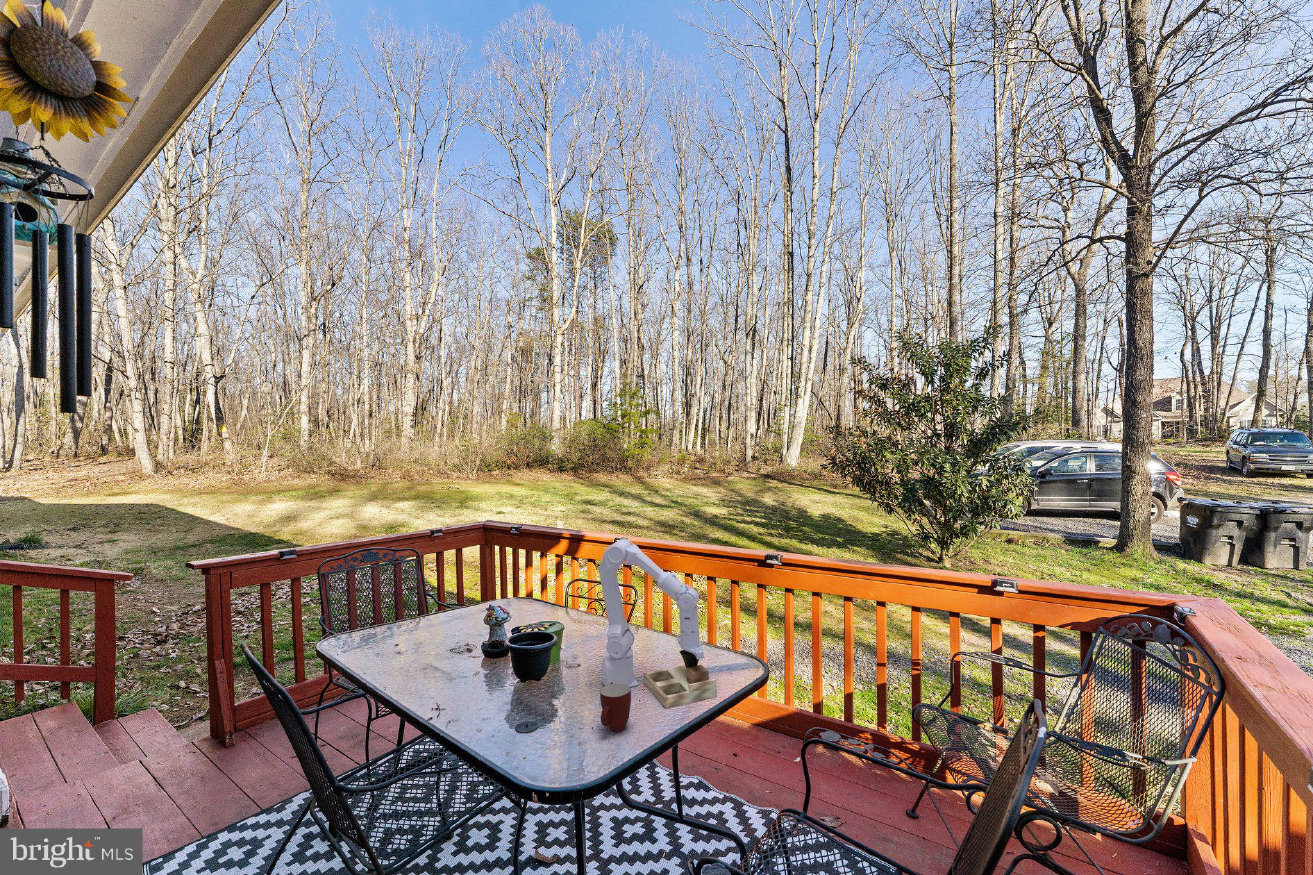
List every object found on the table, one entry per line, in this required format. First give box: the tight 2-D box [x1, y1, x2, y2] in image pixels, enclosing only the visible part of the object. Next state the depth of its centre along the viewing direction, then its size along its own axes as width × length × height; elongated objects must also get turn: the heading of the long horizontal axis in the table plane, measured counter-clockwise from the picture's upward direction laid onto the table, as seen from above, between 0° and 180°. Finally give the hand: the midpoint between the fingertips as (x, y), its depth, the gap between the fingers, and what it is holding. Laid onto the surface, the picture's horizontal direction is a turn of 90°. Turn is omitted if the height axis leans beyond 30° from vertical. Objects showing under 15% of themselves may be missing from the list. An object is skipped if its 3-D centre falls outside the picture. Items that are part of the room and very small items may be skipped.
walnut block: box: [686, 664, 710, 684], centre depth 166 cm, size 5×5×4 cm
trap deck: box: [643, 664, 718, 710], centre depth 169 cm, size 16×18×5 cm
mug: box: [599, 683, 632, 732], centre depth 148 cm, size 10×8×10 cm
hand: (691, 674), depth 170 cm, fingers closed
